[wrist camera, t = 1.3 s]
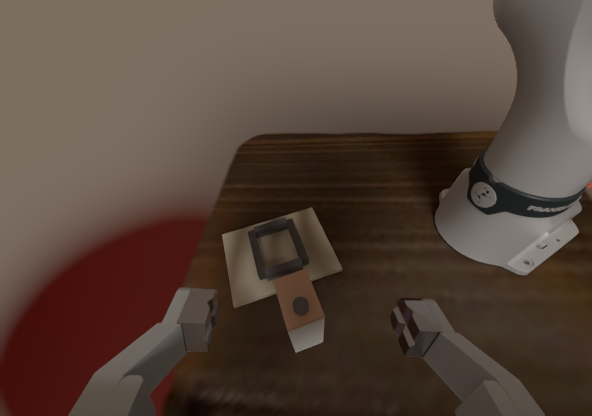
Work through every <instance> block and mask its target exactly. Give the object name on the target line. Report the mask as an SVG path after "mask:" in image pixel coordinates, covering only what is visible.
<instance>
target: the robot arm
mask: <svg viewBox="0 0 592 416" xmlns="http://www.w3.org/2000/svg"><path fill="white" fill-rule="evenodd" d="M493 10H494V16H495V20H496V23H497V25H498V27H499V28H500V30H501V31H502V32H503V34H504V35H505V37H506V38H507V40H508V42H509V44H510V45H511V48H512V51H513V53H514V56H515V61H516V67H517V87H516V92H515V96H514V100H513V103H512V105H511V108H510V110H509V112H508V114H507V116H506V118H505V120H504V122H503V124H502V126H501V127H500V129H499V131H498V133H497V134H496V136H495V138H494V140H493V141H492V143H491V144H490V146H489V147H487V148H486V149H484V150H483V151H482V153H481V154H480V155H479V156H478V157H477V159H476V160H475V162H474V164H473V166H472V167H471V168H466V169H464V170H463V171H462V173H461V174H460V175H459V177H458V178H457V179H456V181H455V182H454V183H453V185H452V186H451V187H450V189H444V190H442V191H441V193H440V194H439V201H440V204H439V207H438V209H437V210H436V213H435V224H436V227H437V229H438V231H439V233H440V235H441V236H442V237H443V239H444V240H445V241H446V242H447V243H448V244H449V245H450V246H451V247H453V248H454V249H455V250H457V251H458V252H460V253H461V254H463V255H465V256H467V257H469V258H471V259H473V260H476V261H479V262H483V263H487V264H492V265H497V266H501V267H503V268H505V269H507V270H509V271H511V272H514V273H516V274H519V275H527V274H529V273H530V272H531V271H532V270H534V269H535V268H536V267H537V266H539V265H540V264H541V263H542V262H544V261H545V260H546V259H547V258H549V257H550V256H551V255H552V254H554V253H555V252H556V251H557V250H559V249H560V248H561V247H562V246H564V245H565V244H566V243H568V242H569V241H570V240H571V239H572V238H574V237H575V236H576V235H577V234H578V233H579V231H578V229H577V227H576V225H575V224H574V222H573V221H572V220H571V219H572V218H573V217H574V216H576V215H577V214H578V213H579V212H581V210H582V208H581V205H580V203H579V201H578V200H579V199H580V198H581V196H582V194H583V193H584V191H585V189H586V188H590V187H592V0H493ZM525 263H526V264H525ZM217 296H218V295H217V290H211V289H197V288H179V289H178V290H177V292H176V294H175V296H174V298H173V300H172V302H171V305H170V307H169V309H168V311H167V313H166V315H165V317H164V319H163V321H162V323H157V324H156V325H155V326H153V327H152V328H151V329H150V330H148V331H147V332H146V333H145V334H143V335H142V336H141V337H140V338H139V339H137V340H136V341H134V342H133V343H132V344H131V345H129V346H128V347H127V348H126V349H124V350H123V351H122V352H121V353H120V354H118V355H117V356H116V357H114V358H113V359H112V360H111V361H109V362H108V363H107V364H106V365H104V366H103V367H102V368H100V369H99V370H98V371H97V372H95V373H94V375H93V376H92V378H91V380H90V381H89V383H88V385H87V386H86V388H85V389H84V391H83V393H82V394H81V396H80V398H79V399H78V401H77V402H76V404H75V406H74V407H73V409H72V411H71V412H70V414H69V415H68V416H155V414H156V410H155V408H154V405H153V403H152V400H151V398H150V395H149V394H150V393H151V392H152V391H153V390H154V389H155V387H157V385H158V384H159V383H160V382H161V381H162V380H163V379H164V378H165V376H166V375H167V374H168V373H169V372H170V371H171V370H172V369H173V367H174V366H175V365H176V364H177V363H178V362H179V361H180V359H181V358H182V357H183V356H184V355H185V354H186V351H208V350H209V346H210V343H211V339H212V328H213V327H214V326H215V324H216V320H217V315H218V302H217V301H216V299H217ZM396 304H397V306H398V307H397V308H395V309H394V310H393V311H392V314H391V323H392V327H393V329H394V331H395V332H396V333H397V334H398V335H399V339H398V342H399V344H400V347H401V349H402V352H403V354H404V356H413V357H423V359H424V360H425V361H426V362H427V363H428V364H429V365H430V367H431V368H432V369H433V370H434V371H435V372H436V373H437V374H438V375H439V376H440V378H441V379H442V380H443V381H444V382H445V383H446V384H447V385H448V386H449V387H450V389H451V390H452V391H453V392H454V393H455V394H456V395H457V396H458V397H459V398H460V400H461V401H462V403H461V404H460V405H459V406H458V407H457V408H456V410H455V414H456V416H545V414H544V413H543V412H542V410H541V409H540V408H539V406H538V405H537V403H536V402H535V401H534V399H533V398H532V397H531V395H530V394H529V393H528V391H527V390H526V388H525V387H524V386H523V384H522V383H521V382H520V380H519V379H517V378H516V377H515V376H513V375H512V374H511V373H509V372H508V371H507V370H506V369H504V368H503V367H502V366H500V365H499V364H498V363H497V362H495V361H494V360H493V359H491V358H490V357H489V356H488V355H486V354H485V353H484V352H482V351H481V350H480V349H479V348H477V347H476V346H475V345H473V344H472V343H471V342H469V341H468V340H467V339H466V338H464V337H463V336H462V335H460V334H459V333H455V331H454V330H453V328H452V327H451V325H450V324H449V322H448V320H447V319H446V317H445V316H444V314H443V313H442V311H441V309H440V308H439V306H438V305H437V303H436V302H435V301H434V300H433V299H414V298H400V299H398V301H397V303H396Z"/></svg>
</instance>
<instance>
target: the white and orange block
mask: <svg viewBox="0 0 592 416" xmlns="http://www.w3.org/2000/svg"><path fill="white" fill-rule="evenodd" d="M273 282H274V286H275V289H276V293H277V296H278V300H279V303H280V307H281V310H282V314H283V317H284V321H285V324H286V328H287V331H288V334H289V336H290V339H291V342H292V344H293V347H294V350H295V352H296V353H297V352H299V351H302V350H304V349H307V348H309V347H312V346H314V345H317V344H319V343H322V342H323V334H324V318H325V315H324V313H323V310H322V308H321V305H320V303H319V300H318V297H317V295H316V292H315V290H314V287H313V285H312V282H311V280H310V277H309V274H308V272H307V269H303V270H301V271H298V272H295V273H292V274H289V275H286V276H283V277H280V278H277V279H274V280H273Z"/></svg>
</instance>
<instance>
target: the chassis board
mask: <svg viewBox="0 0 592 416" xmlns="http://www.w3.org/2000/svg"><path fill="white" fill-rule="evenodd" d="M222 237H223V243H224V250H225V256H226V262H227V269H228V275H229V281H230V287H231V294H232V300H233V306H234V308H237V307H240V306H243V305H246V304H248V303H251V302H254V301H257V300H260V299H263V298H266V297H268V296H271V295H274V294H277V293H276V289H275V286H274V282H273V280H274V279H277V278H280V277H283V276H286V275H289V274H292V273H295V272H298V271H301V270H303V269H307V272H308V274H309V277H310V280H311V281H314V280H317V279H320V278H322V277H325V276H328V275H331V274H334V273H337V272H339V271H342V267H341V265H340V263H339V261H338V259H337V257H336V255H335V253H334V251H333V249H332V247H331V245H330V243H329V241H328V239H327V237H326V235H325V233H324V231H323V229H322V227H321V225H320V223H319V221H318V219H317V217H316V215H315V212H314V210H313V208H312V207H311V208H308V209H305V210H301V211H298V212H295V213H291V214H288V215H285V216H282V217H278V218H275V219H272V220H268V221H265V222H262V223H258V224H255V225H252V226H249V227H245V228H242V229H239V230H235V231H232V232H229V233H225V234H222Z"/></svg>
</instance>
